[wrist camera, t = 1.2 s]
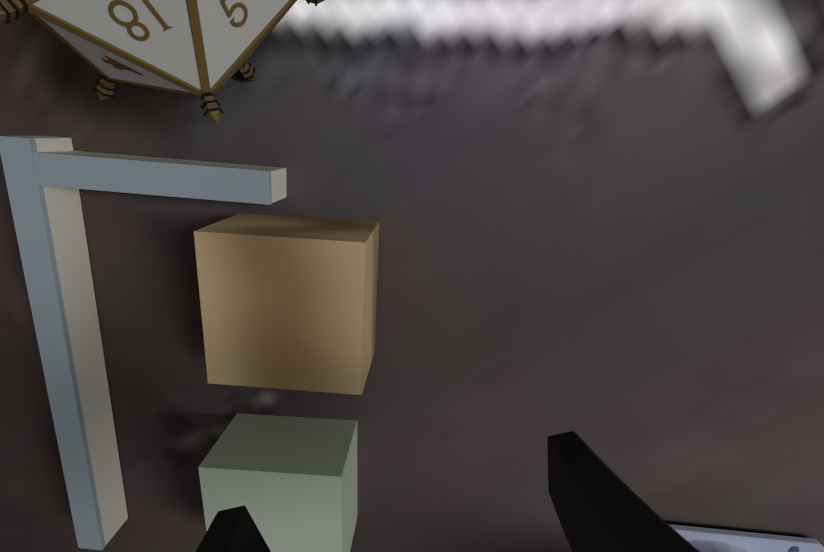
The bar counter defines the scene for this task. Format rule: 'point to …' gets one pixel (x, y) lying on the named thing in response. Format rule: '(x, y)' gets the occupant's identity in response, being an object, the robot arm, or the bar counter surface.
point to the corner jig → (74, 293)
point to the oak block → (288, 301)
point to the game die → (160, 40)
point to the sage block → (287, 479)
